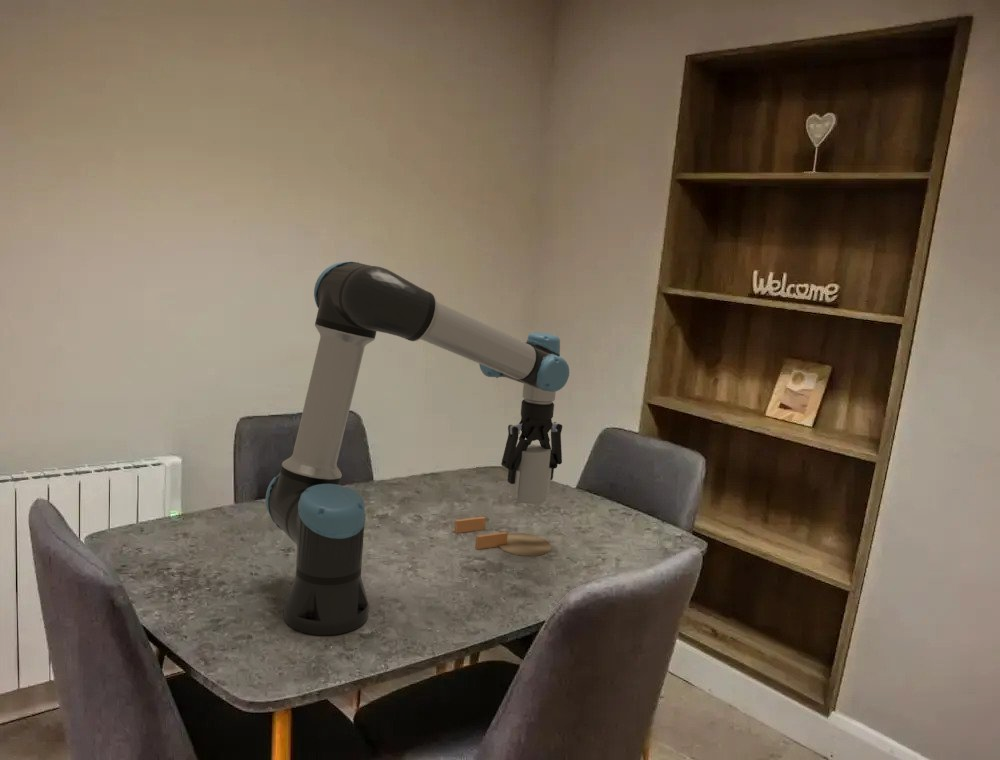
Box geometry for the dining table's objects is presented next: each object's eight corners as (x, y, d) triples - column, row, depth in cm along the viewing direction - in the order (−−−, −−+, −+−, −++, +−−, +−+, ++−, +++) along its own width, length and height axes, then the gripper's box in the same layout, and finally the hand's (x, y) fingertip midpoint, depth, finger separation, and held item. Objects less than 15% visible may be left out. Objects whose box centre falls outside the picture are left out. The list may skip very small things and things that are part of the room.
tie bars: (506, 545, 185) (507, 533, 184) (477, 549, 180) (478, 537, 180) (482, 527, 194) (483, 516, 194) (454, 531, 190) (455, 519, 190)
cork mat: (561, 552, 184) (561, 550, 183) (514, 559, 177) (515, 557, 177) (531, 532, 194) (531, 530, 194) (486, 538, 188) (486, 536, 188)
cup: (546, 494, 187) (551, 446, 185) (545, 505, 179) (550, 455, 177) (512, 490, 188) (517, 442, 186) (510, 501, 180) (514, 451, 178)
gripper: (565, 395, 188) (556, 485, 192) (490, 398, 177) (482, 493, 181) (584, 402, 182) (574, 495, 186) (507, 405, 171) (498, 504, 175)
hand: (529, 494), depth 183 cm, fingers closed on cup, 8 cm apart
